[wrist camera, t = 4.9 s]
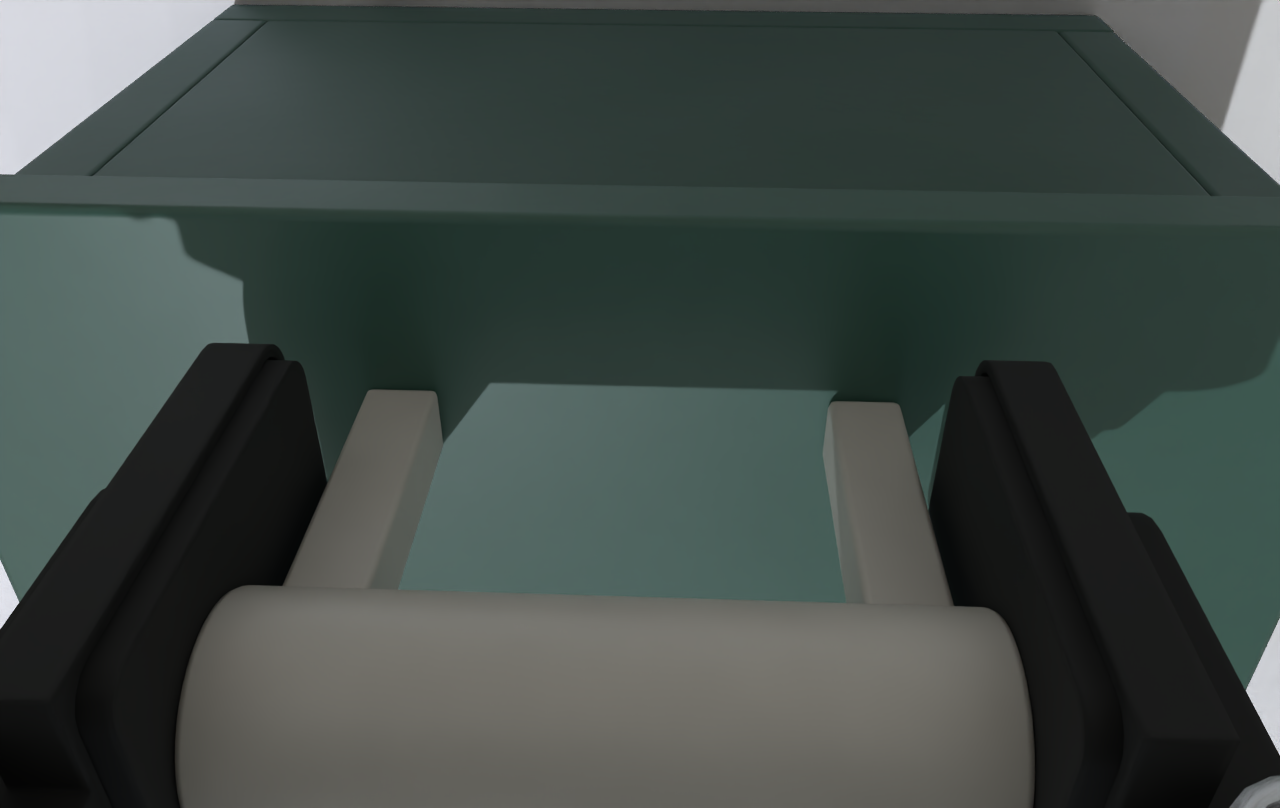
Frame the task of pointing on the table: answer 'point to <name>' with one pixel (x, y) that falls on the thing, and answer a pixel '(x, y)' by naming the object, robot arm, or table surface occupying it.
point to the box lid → (636, 467)
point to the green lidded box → (661, 103)
